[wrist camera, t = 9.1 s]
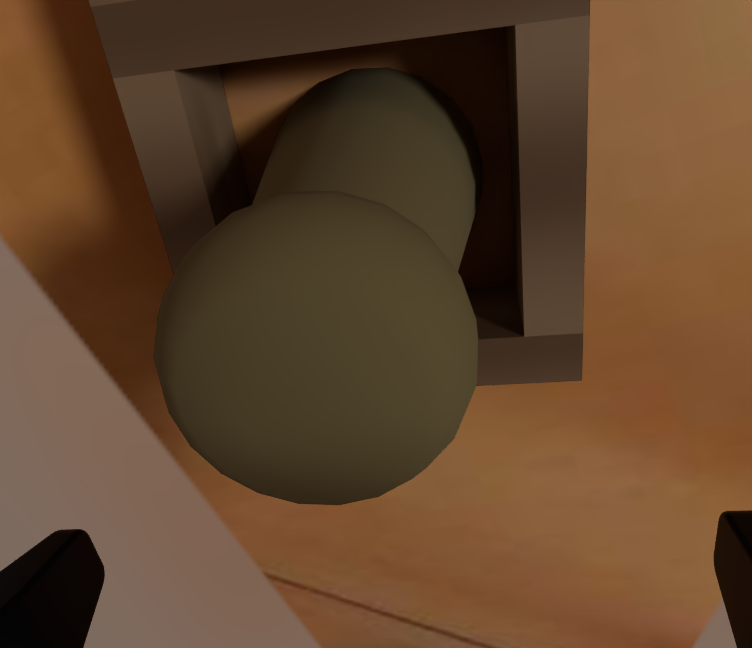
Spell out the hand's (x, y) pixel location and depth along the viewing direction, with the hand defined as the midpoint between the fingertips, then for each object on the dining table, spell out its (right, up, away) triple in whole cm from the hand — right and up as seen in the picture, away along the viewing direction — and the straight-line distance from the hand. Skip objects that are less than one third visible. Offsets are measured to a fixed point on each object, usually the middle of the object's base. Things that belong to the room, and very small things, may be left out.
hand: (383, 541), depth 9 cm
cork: (0, +7, +10) cm, 12 cm away
